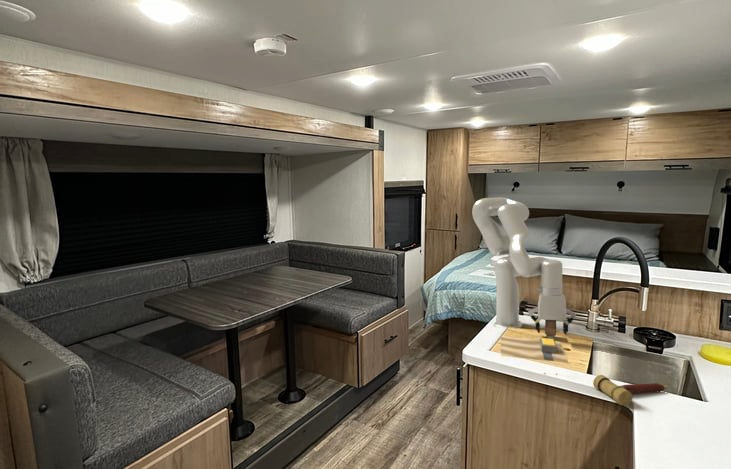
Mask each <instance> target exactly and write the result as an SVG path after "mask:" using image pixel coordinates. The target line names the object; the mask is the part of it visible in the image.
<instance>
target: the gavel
mask: <svg viewBox="0 0 731 469" xmlns="http://www.w3.org/2000/svg"><path fill="white" fill-rule="evenodd" d="M592 382H593V385H592V386H593V387H594V388H595V389H596V390H598V391H599V392H602V393H604V394H606V395H607V396H609V397H610V398H611V399H613V401H614V402H615V403H616V404H618V405H620V406H629V405H630V404H631V402H632V400H633V394H650V393H652V394H653V393H661V392H663V391H666V390H668V389H669V388H668V386H667V385H664V384H661V383H658V382H655V383H652V382H650V383H634V384H631V383H630V384H622V385H618V384H616V383H614V382H613V381H611V379H609V378H608V377H607V376H605V375H603V374H599V375H597V376H595V378H594V379H593V380H592ZM657 391H658V392H657Z"/></svg>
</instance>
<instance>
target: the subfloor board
mask: <svg viewBox="0 0 731 469" xmlns="http://www.w3.org/2000/svg"><path fill="white" fill-rule="evenodd" d="M555 343H556V346H557V354H554V353H544V352H541V347H540V339H534V338H533V339H532V338H524V337H522V338H521V337H511V336H500V356H501V357H509V358H519V359H528V360H529V359H530V360H538V361H539V360H540V361H550V362H556V363H557V362H559V363H566V364H567V363H568V364H569V360H568V359H567V356H566V353H565V350H564V349H563V346H562V343H561V341H557V340H555Z"/></svg>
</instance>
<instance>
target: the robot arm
mask: <svg viewBox="0 0 731 469" xmlns="http://www.w3.org/2000/svg"><path fill="white" fill-rule="evenodd" d="M471 214H472V219H473V221H474V223H475V225H476V226H477V228H478V230H479V231H480V233H481V237H482V238H483V241H484V243H485V244H486V246H487V249H488V251H489V253H490V254H491V255H492V256H495V257H499V258H498V259H497V260H496V261H495V262H494V267H493V271H494V273H495V274H494V275H495V282H496V284H495V285H496V308H495V310H496V313H495V314H496V316H495V317H496V318H495V319H496V322H495V323H494V324H495V325H497V326H499V327H498V328H509V329H522V327H523V323H522V322H521V321H520V320H519V318H520V316H519V313H520V299H519V298H520V285H519V284H518V280H517V279H516V278H517V277H522V278H531V277H537V276H541V279H540V280H541V285H540V287H537V288H536V289H537V291H538V292H540V293H539V296H538V301H537V306H535V307H534V308H531V309H529V310H528V312H527V313H528V315H529V317H530V318H531V319H532V320H533V321H534V322H535V330H536V332H537V333H540V332H541V323H540V321H541V320H544V321H545V320H556V322H557V321H561V322H562V321H563V324H562V326H563V327H562V328H563V329H562V332H563V334H564V335H565V336H566V335H567V333H568V332H569V325H570V323H572V322H573V321H574V319H575V317H576V316H577V314H576V313H575V312H573V311H572V310H569V309H567V303H566V302H567V301H566V297H565V295H564V293H563V263H562V261H560V260H557V259H548V258H546V257H543V256H535V257H530V256H529V253H528V252H527V250H526V248H525V246H524V241H525V240H526V239H527V238H528V237H529V236H530V231H529V229H528V227H527V225H526V223H525V221H526V220H527V219H528V218H529V216H530V210H529V208H528V206H527V205H526V204H525V203H523V202H520V201H516V200H514V199H510V198H508V197H504V196H503V197H499V196H498V197H484V198H480V199H478V200H477V201H475V203H474V204H473V206H472V211H471ZM494 216H497V217H498V219H499V221H500V223H501V225H502V227H503V229H504V231H505V233H503V232H502V230H501V227H500V225H499V224H498V223H497V221H496V220H494V219H493V218H492V217H494ZM501 256H502V257H501ZM534 313H537V315H536V316H535V315H534ZM567 314H569V315H570V316H569V317H568V318H567Z"/></svg>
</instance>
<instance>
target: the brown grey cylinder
mask: <svg viewBox="0 0 731 469" xmlns="http://www.w3.org/2000/svg"><path fill="white" fill-rule="evenodd" d="M544 321H545V323H544V335H546V338H547V339H553V340H555V336H557V320H544Z"/></svg>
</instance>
